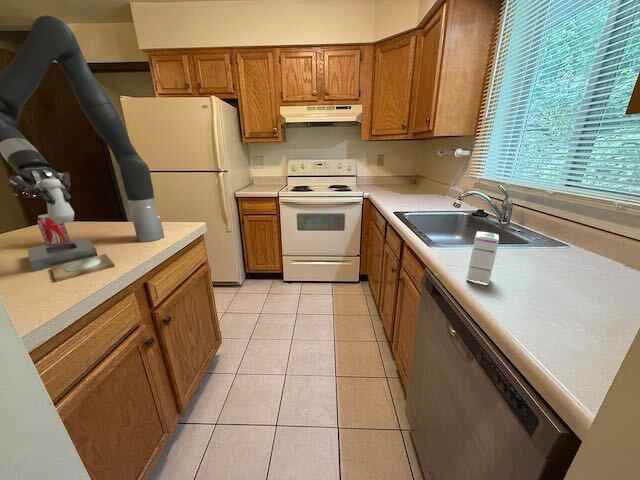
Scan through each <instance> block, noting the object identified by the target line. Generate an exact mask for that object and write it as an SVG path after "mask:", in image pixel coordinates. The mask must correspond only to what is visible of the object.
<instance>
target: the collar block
mask: <svg viewBox="0 0 640 480" xmlns="http://www.w3.org/2000/svg"><path fill="white" fill-rule="evenodd" d="M27 254H28V261H29V263H30V266H31V269H32V270H33V271H32V272H33V273H34V272H35V273H36V272H39V271H42V270H43V271H44V270H46V269H52V268H51V266H56V265H60V264H64V263H69V262H73V261H77V260H82V259H86V258H90V257H95V256H99V254H98V251H97V249H96V247H95V245H94V244H93V242H91V240H90V239H89V238H88V237H87V236H86V237H82V238H78V239H77V238H75V239H71V240H70V239H69V241H65V242H60V243H54V244H49V245H46V244H45V245H44V244H43V245H38V246H35V247H29V248H27Z"/></svg>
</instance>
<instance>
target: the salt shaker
mask: <svg viewBox="0 0 640 480" xmlns="http://www.w3.org/2000/svg"><path fill="white" fill-rule="evenodd" d="M40 184H41V186H42V187H43V188H45V190H46V191H48V192H49V193H50V194H51V195H52V197H53V198H54V199H55V204H53V205H51V204H50V203H47V202H46V208H47V214H48V216H49V218H50V219H51V220H53V221H54V222H55V223H64V224H67V223H70V222H71V223H72V222H73V221H74V219H75V211H74V209H73V208H72V206H71V205H70V202H67V201H66V199H65V197H64V195H63V193H62V191H61V189H60V186H61V184H62V182H61V179H59V178H57V179H43V180H41V181H40Z"/></svg>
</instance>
